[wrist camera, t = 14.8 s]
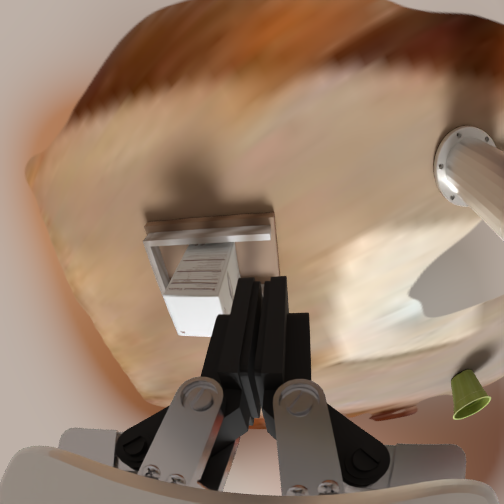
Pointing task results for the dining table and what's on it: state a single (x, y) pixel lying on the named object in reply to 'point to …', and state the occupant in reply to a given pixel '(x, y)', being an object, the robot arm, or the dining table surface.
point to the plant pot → (467, 395)
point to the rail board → (215, 231)
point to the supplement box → (202, 287)
